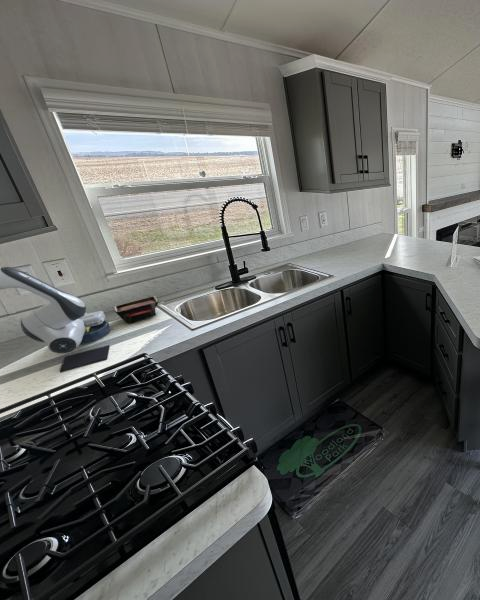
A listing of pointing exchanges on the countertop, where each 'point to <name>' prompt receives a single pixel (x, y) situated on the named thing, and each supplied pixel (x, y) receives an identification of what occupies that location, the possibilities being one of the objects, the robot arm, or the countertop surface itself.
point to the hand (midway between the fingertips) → (76, 316)
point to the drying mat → (84, 358)
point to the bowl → (96, 332)
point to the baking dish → (137, 309)
